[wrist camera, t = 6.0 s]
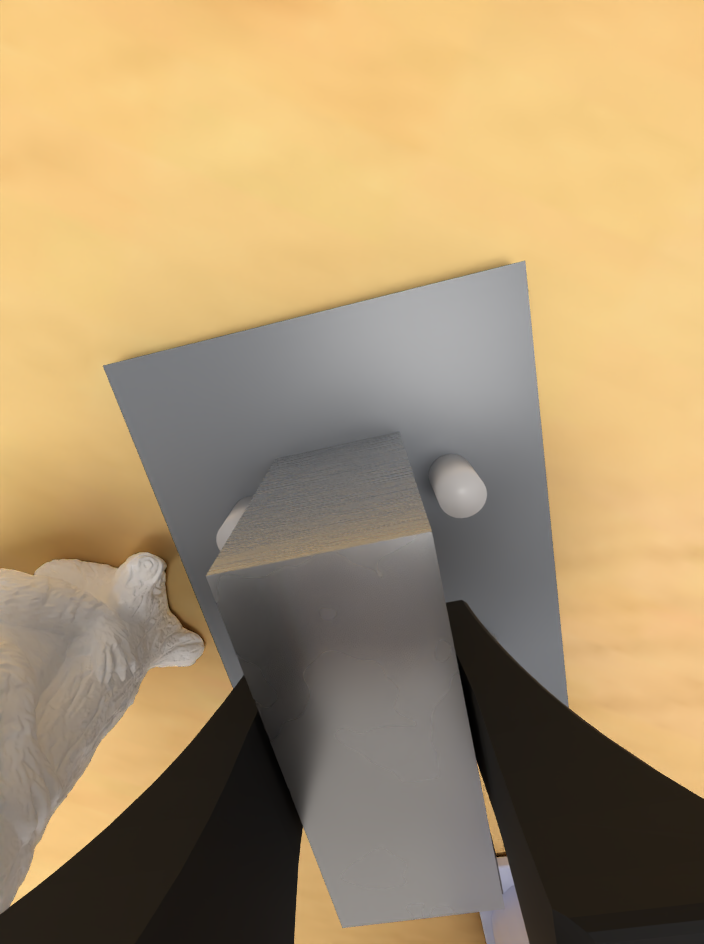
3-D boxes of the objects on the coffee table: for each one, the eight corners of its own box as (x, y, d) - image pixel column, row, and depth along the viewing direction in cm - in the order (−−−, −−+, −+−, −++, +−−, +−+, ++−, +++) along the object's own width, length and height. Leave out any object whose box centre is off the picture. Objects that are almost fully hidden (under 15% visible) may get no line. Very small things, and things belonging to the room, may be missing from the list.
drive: (452, 687, 15) (507, 911, 9) (348, 704, 15) (341, 931, 10) (400, 430, 12) (434, 530, 7) (274, 458, 13) (202, 576, 7)
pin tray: (560, 721, 17) (594, 790, 14) (278, 764, 18) (265, 836, 15) (511, 264, 12) (551, 251, 9) (121, 362, 13) (64, 373, 10)
